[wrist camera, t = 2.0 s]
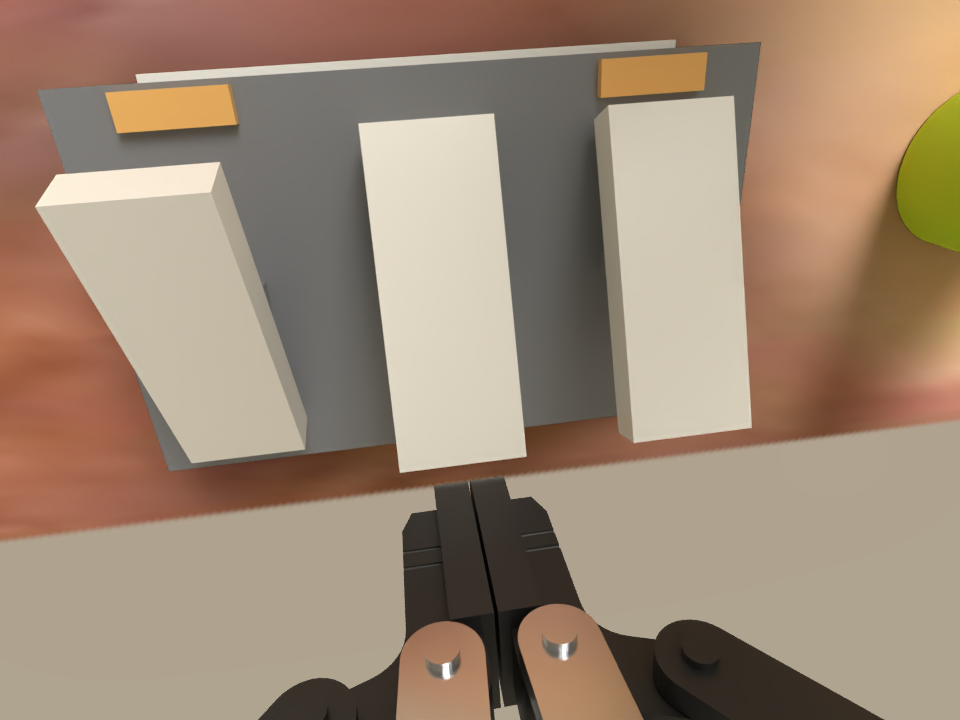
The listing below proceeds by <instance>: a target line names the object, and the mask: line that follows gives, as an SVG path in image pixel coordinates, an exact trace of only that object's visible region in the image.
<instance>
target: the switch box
mask: <svg viewBox="0 0 960 720" xmlns="http://www.w3.org/2000/svg"><path fill="white" fill-rule="evenodd" d="M675 45H676V39H675V40H659V41H644V42H628V43H613V44H597V45H582V46H567V47H551V48H536V49H520V50H505V51H489V52H474V53H459V54H443V55H428V56H412V57H397V58H381V59H366V60H351V61H335V62H320V63H304V64H289V65H273V66H258V67H243V68H227V69H212V70H196V71H181V72H165V73H150V74H135V75H136V78H137V82H138V83H133V84H118V85H103V86H88V87H73V88H59V89H44V90H37V92H38V95H39V98H40V101H41V104H42V106H43V109H44V112H45V115H46V118H47V121H48V124H49V127H50V129H51V132H52V135H53V138H54V141H55V144H56V147H57V150H58V152H59V155H60V158H61V161H62V164H63V167H64V170H65V173H66V174H73V173H86V172H98V171H111V170H124V169H137V168H149V167H162V166H175V165H187V164H200V163H213V162H220V163H221V166H222V169H223V172H224V175H225V178H226V181H227V184H228V187H229V190H230V192H231V195H232V198H233V201H234V204H235V207H236V210H237V213H238V216H239V219H240V222H241V225H242V228H243V231H244V234H245V236H246V239H247V242H248V245H249V248H250V251H251V254H252V257H253V260H254V263H255V266H256V269H257V272H258V275H259V278H260V280H261V283H262V286H263V289H264V292H265V295H266V298H267V301H268V304H269V307H270V310H271V313H272V316H273V319H274V322H275V324H276V327H277V330H278V333H279V336H280V339H281V342H282V345H283V348H284V351H285V354H286V357H287V360H288V363H289V366H290V368H291V371H292V374H293V377H294V380H295V383H296V386H297V389H298V392H299V395H300V398H301V401H302V404H303V407H304V410H305V412H306V415H307V429H306V444H305V450H297V451H288V452H280V453H272V454H264V455H256V456H248V457H240V458H232V459H223V460H215V461H207V462H199V463H191V461H190V460H189V458H188V457H187V455H186V453H185V452H184V450H183V448H182V447H181V445H180V443H179V442H178V440H177V438H176V437H175V435H174V434H173V432H172V430H171V429H170V427H169V425H168V424H167V422H166V420H165V419H164V417H163V416H162V414H161V412H160V411H159V409H158V407H157V406H156V404H155V402H154V401H153V399H152V398H151V396H150V394H149V393H148V391H147V389H146V388H145V386H144V384H143V383H142V381H141V380H140V378H139V376H138V375H137V373H136V371H135V370H134V371H135V374H136V377H137V380H138V383H139V386H140V388H141V391H142V394H143V397H144V400H145V403H146V406H147V409H148V412H149V414H150V417H151V420H152V423H153V426H154V429H155V432H156V435H157V437H158V440H159V443H160V446H161V449H162V452H163V455H164V458H165V460H166V463H167V466H168V469H169V471H177V470H185V469H193V468H201V467H209V466H217V465H225V464H233V463H241V462H249V461H257V460H266V459H274V458H282V457H290V456H298V455H306V454H314V453H322V452H330V451H338V450H346V449H354V448H362V447H371V446H379V445H387V444H395V443H396V437H395V428H394V420H393V411H392V403H391V394H390V386H389V378H388V369H387V361H386V352H385V344H384V336H383V327H382V319H381V310H380V302H379V294H378V285H377V277H376V268H375V260H374V252H373V243H372V235H371V226H370V218H369V210H368V201H367V193H366V184H365V176H364V168H363V159H362V151H361V142H360V134H359V126H358V124H359V123H372V122H385V121H399V120H412V119H426V118H439V117H453V116H466V115H479V114H493V113H494V120H495V130H496V141H497V151H498V162H499V172H500V183H501V193H502V204H503V214H504V225H505V235H506V246H507V256H508V267H509V277H510V288H511V298H512V309H513V319H514V330H515V340H516V350H517V361H518V371H519V382H520V392H521V403H522V413H523V424H524V427H532V426H540V425H548V424H556V423H564V422H572V421H580V420H589V419H597V418H605V417H613V416H617V408H616V395H615V383H614V370H613V357H612V344H611V331H610V319H609V306H608V293H607V280H606V268H605V255H604V242H603V229H602V217H601V204H600V191H599V178H598V166H597V153H596V140H595V127H594V119H595V118H596V117H597V116H598V115H599V114H600V113H601V112H602V111H603V110H604V109H605V108H606V107H607V106H608V105H616V104H629V103H643V102H656V101H669V100H683V99H696V98H710V97H723V96H734V108H735V127H736V145H737V164H738V182H739V201H740V203H741V195H742V187H743V180H744V172H745V164H746V156H747V148H748V140H749V133H750V125H751V117H752V109H753V101H754V93H755V86H756V78H757V70H758V62H759V54H760V46H761V42H755V43H739V44H723V45H708V46H692V47H677V48H675Z"/></svg>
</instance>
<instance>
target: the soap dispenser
mask: <svg viewBox="0 0 960 720" xmlns="http://www.w3.org/2000/svg"><path fill="white" fill-rule="evenodd" d="M897 205H898V210H899V213H900V216H901V218H902V220H903V222H904V224H905V225H906V227H907V228H908V229H909V230H910V231H911V232H912V233H913V234H914V235H915V236H917V237H918V238H920V239H922V240H924V241H926V242H929V243H932V244H935V245H938V246H941V247H944V248H947V249H950V250H953V251H956V252H960V93H958V94H956V95H955V96H953V97H952V98H950V99H949V100H948V101H946V102H945V103H944V104H943V105H941V106H940V107H939V108H938V109H937V110H936V111H935V112H934V113H933V114H932V115H931V116H930V117H929V118H928V119H927V121H926V122H925V123H924V124H923V125H922V127H921V128H920V129H919V131H918V132H917V134H916V135H915V137H914V138H913V140H912V142H911V144H910V145H909V147H908V149H907V152H906V154H905V156H904V159H903V161H902V164H901V167H900V171H899V175H898V181H897Z"/></svg>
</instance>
